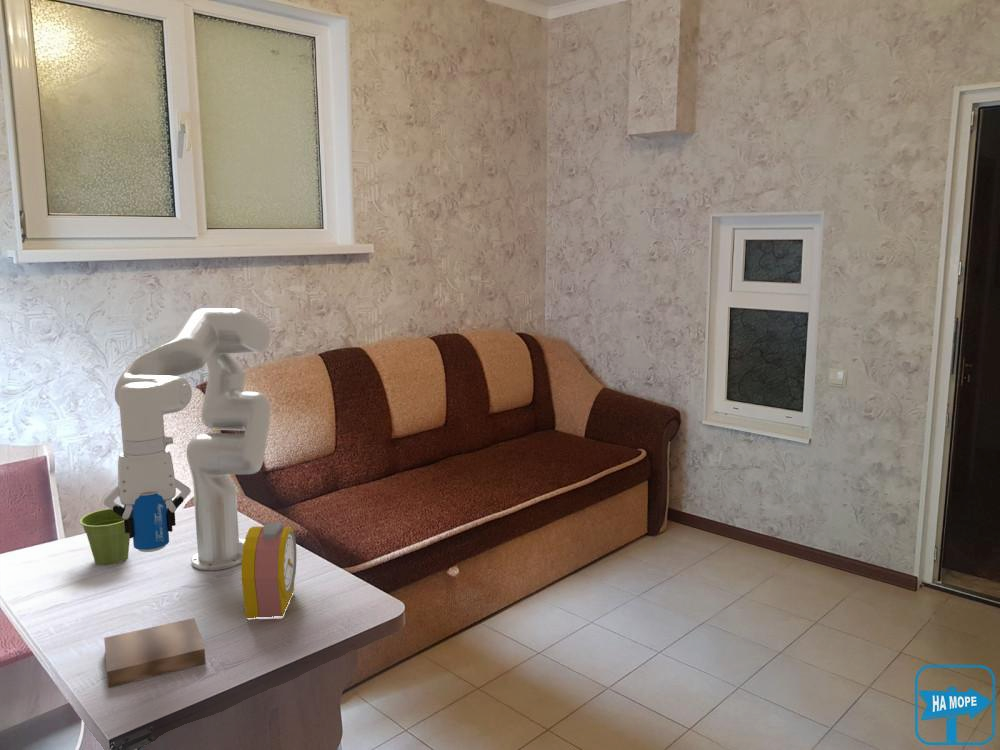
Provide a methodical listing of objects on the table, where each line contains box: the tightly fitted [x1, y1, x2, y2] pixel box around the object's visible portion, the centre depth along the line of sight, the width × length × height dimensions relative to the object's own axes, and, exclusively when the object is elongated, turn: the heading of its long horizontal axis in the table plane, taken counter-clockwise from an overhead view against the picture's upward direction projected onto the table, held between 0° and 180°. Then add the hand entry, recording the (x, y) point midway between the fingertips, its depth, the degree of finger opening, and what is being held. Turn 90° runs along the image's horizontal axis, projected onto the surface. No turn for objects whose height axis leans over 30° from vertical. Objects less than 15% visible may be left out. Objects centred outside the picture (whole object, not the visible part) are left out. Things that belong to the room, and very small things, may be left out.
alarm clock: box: [240, 521, 297, 619], centre depth 161 cm, size 15×8×18 cm, turn 4°
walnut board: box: [103, 617, 206, 688], centre depth 142 cm, size 16×13×3 cm
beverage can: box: [131, 492, 170, 553], centre depth 151 cm, size 6×6×12 cm
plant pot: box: [79, 508, 131, 567], centre depth 183 cm, size 12×12×11 cm
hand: (150, 531), depth 151 cm, fingers closed on beverage can, 6 cm apart
